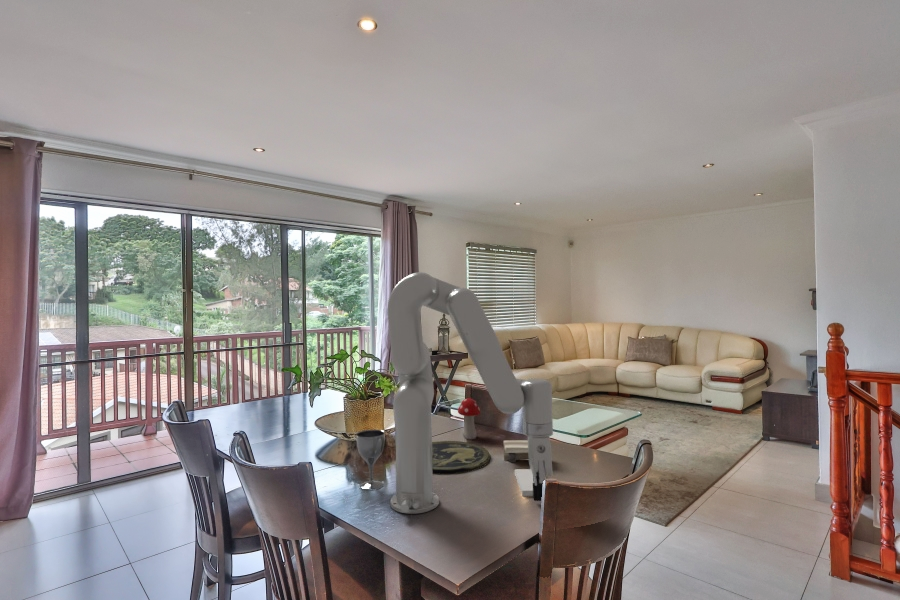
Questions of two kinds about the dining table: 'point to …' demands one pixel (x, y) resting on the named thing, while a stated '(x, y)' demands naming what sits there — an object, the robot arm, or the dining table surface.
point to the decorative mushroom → (469, 417)
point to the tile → (525, 481)
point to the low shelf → (515, 450)
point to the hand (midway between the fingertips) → (539, 499)
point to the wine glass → (370, 453)
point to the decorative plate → (457, 457)
